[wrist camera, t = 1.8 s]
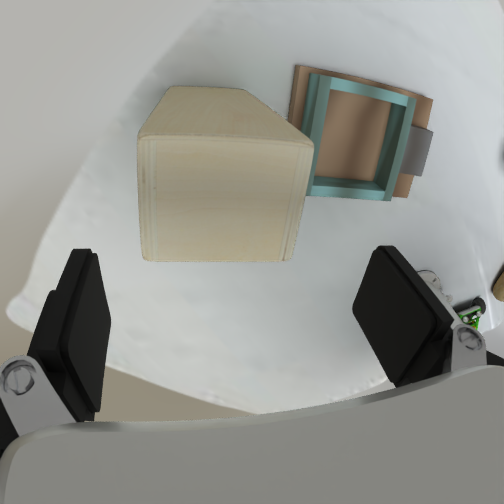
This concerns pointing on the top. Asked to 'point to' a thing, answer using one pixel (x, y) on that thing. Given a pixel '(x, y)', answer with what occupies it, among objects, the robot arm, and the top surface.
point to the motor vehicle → (473, 313)
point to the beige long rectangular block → (219, 178)
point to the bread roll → (499, 288)
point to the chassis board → (360, 134)
